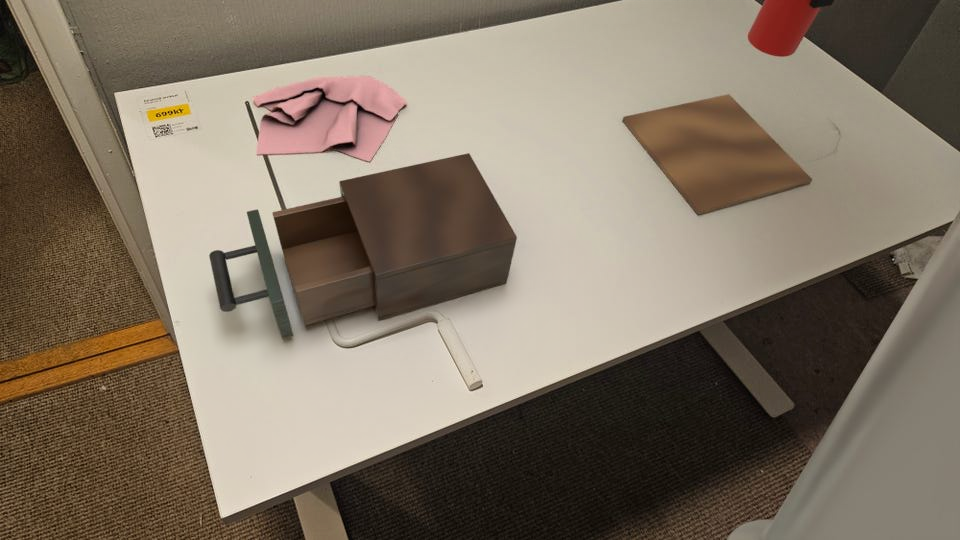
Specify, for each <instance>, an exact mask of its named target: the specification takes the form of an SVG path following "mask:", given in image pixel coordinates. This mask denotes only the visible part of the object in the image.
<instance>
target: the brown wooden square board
mask: <svg viewBox="0 0 960 540" xmlns="http://www.w3.org/2000/svg"><path fill="white" fill-rule="evenodd" d="M622 122H623V124H624V125H625V126H626V127H627V129H628V130H629V132H631V134H632V135H633V136H634V137H635V139H636V140H637V141H638V142H639V144H640V145H641V146H642V147H643V148H644V150H645V151H646V153H647V154H648V155H649V156H650V157H651V159H652V160H653V161H654V163H655V164H656V165H657V167H659V169H660V170H661V171H662V173H663V174H664V175H665V176H666V178H667V179H668V180H669V181H670V182H671V184H672V185H673V186H674V187H675V189H676V190H677V192H678V193H679V194H680V195H681V197H682V198H683V199H684V200H685V201H686V202H687V204H688V205H689V206H690V207H691V209H692V210H693V211H694V212H695V214H696V215H697V216H701V215H704V214H708V213H712V212H715V211H718V210H723V209H725V208H729V207H733V206H735V205H740V204H742V203H746V202H749V201H753V200H757V199H760V198H763V197H767V196H771V195H775V194H777V193H781V192H784V191H789V190H792V189H794V188H799V187H802V186H806V185H809V184H811V183H812V182H813V178H812V177H811V176H810V175H809V174H808V173H807V172H806V171H805V170H804V169H803V167H801V166H800V165H799V164H798V163H797V162H796V161H795V159H793V157H791V155H789V154H788V153H787V152H786V151H785V149H783V148H782V146H781V145H780V144H779V143H778V142H777V141H776V140H775V139H774V138H772V136H771V135H770V134H768V132H767V131H766V130H765V129H764V128H763V127H762V126H761V125H760V124H759V123H758V121H756V120H755V119H754V118H753V117H752V116H751V115H750V114H749V113H748V111H746V110H745V109H744V108H743V107H742V105H740V104H739V103H738V101H737V100H736V99H734V97H732V95H731V94H729V93H727V94H722V95H719V96H713V97H710V98H709V97H708V98H704V99H700V100H694V101H691V102H685V103H681V104H676V105H672V106H667V107H661V108H658V109H652V110H647V111H643V112H640V113H635V114H629V115H625V116H623V117H622Z"/></svg>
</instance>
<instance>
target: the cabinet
mask: <svg viewBox="0 0 960 540" xmlns="http://www.w3.org/2000/svg"><path fill="white" fill-rule="evenodd" d="M338 183H339V190H340V191H339V192H340V197H343V196H344V198H345V201H346V203H347V206H348V209H349V211H350V214H351V216H352V219H353V221H354V224H355V227H356V229H357V232H358V234H359V237H360V240H361V242H362V245H363V247H364V250H365V253H366V255H367V258H368V260H369V263H370V265H371V268H372V271H373V273H374V284H375V298H376V305H375V306H372V307H373V309H374V312H375V316H376V318H377V320H378V321H382V320H383V321H384V320H387V319H389V318H393V317H398V316H400V315H403V314H406V313H410V312H414V311H416V310H417V311H418V310H420V309H423V308H424V309H425V308H428V307H431V306H433V305H438V304H441V303H444V302H448V301H451V300H455V299H458V298H461V297H465V296H468V295H472V294H475V293H478V292H482V291H486V290H488V289H492V288H496V287H500V286H503V285H505V284H507V283H508V278H509V274H510V270H511V266H512V261H513V257H514V253H515V248H516V243H517V239H518V236H517V235H516V233H515V231H514V229H513V228H512V225H511V224H510V222H509V221H508V218H507V217H506V215H505V214H504V212H503V210H502V208H501V206H500V205H499V203H498V201H497V199H496V198H495V196H494V194H493V192H492V191H491V189H490V187H489V185H488V184H487V182H486V180H485V178H484V177H483V175H482V173H481V171H480V170H479V168H478V167H477V164H476V162H475V161H474V159H473V156H471V154H470V152H467V153H463V154H458V155H453V156H449V157H444V158H439V159H435V160H431V161H425V162H422V163H417V164H416V163H415V164H412V165H408V166H402V167H398V168H394V169H393V168H392V169H389V170H383V171H379V172H375V173H369V174H367V175H362V176H357V177H353V178H348V179H343V180H339V182H338Z"/></svg>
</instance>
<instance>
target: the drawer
mask: <svg viewBox="0 0 960 540" xmlns="http://www.w3.org/2000/svg"><path fill="white" fill-rule="evenodd" d="M246 216H247V219H248V224H249V227H250V231H251V234H252V238H253V239H252V240H253V242H254V245H250V246H246V247H242V248H238V249H234V250H229V251H226V252H224V251H223V250H220V249H216V250H213V251H211V252H210V253H209V255H208V256H209V261H210V262H209V263H210V266H211V272H212V276H213V281H214V286H215V290H216V295H217V301H218V304H219V305H218V306H219V309H220V311H221V312H225V313H228V312H232V311H234V310H235V309H236V308H237V306H238V305H242V304H246V303H250V302H254V301H258V300H261V299H265V298H268V299H269V303H270V306H271V309H272V312H273V316H274V318H275V322H276V325H277V328H278V331H279V334H280V337H281V340H285V339H288V338H292V337H294V332H293V329H292V324H291V321H290V318H289V314H288V311H287V307H286V303H285V300H284V296H283V292H282V289H281V286H280V282H279V278H278V274H277V270H276V267H275V263H274V260H273V256H272V253H271V249H270V246H269V242H268V239H267V236H266V233H265V229H264V225H263V222H262V219H261V214H260V210H259V209H251V210H249V211H248V210H247V211H246ZM272 217H273V222H274V224H275V228H276V232H277V236H278V240H279V243H280V248H281V251H282V255H283V259H284V261H285V265H286V269H287V271H288V275H289V279H290V281H291V286H292V289H293V292H294V295H295V299H296V302H297V307H298V309H299V313H300V316H301V320H302V323H303V326H308V325H311V324H315V323H318V322H322V321H326V320H329V319H332V318H336V317H340V316H342V315H346V314H350V313H354V312H357V311H360V310H364V309H367V308H372V307H373V306H375V305H376V298H375V284H374V273H373V271H372V268H371V265H370V263H369V260H368V258H367V255H366V253H365V250H364V247H363V245H362V242H361V240H360V237H359V234H358V232H357V229H356V227H355V224H354V221H353V219H352V216H351V214H350V211H349V209H348V206H347V203H346V201H345V198H344V196H343V197H341V196H338V197H333V198H330V199H325V200H321V201H317V202H316V201H315V202H311V203H308V204H307V203H306V204H303V205H298V206H294V207H290V208H284V209H280V210H276V211H272ZM252 254H257V258H258V261H259V266H260V269H261V273H262V276H263V280H264V284H265V287H266V288H265V289H261V290H259V291H258V290H257V291H254V292H250V293H247V294H243V295H240V296H236V297H235V293H234V290H233V285H232V281H231V277H230V272H229V267H228V263H227V260H232V259H236V258H240V257H245V256H249V255H252Z"/></svg>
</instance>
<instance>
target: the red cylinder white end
mask: <svg viewBox="0 0 960 540" xmlns="http://www.w3.org/2000/svg"><path fill="white" fill-rule="evenodd" d="M810 2H811V0H764V1H763V3H762V6H761V7H760V9H759V11H758V13H757V15H756V17H755V19H754V21H753V23H752V25H751V27H750V29H749V31H748V34H747V40H748V42H749V44H750V45H752V47H754V48H755V49H756V50H758V51H759V52H761V53H763V54H766V55H769V56H773V57H778V58H779V57H780V58H783V57H784V58H785V57H790V56H792V55H794V54H795V53H796V51H797V50H798V48H799V46H800V45H801V42H802V41H803V39H804V38H805V36H806V34H807V32H808V30H809V29H810V27H811V25H812V24H813V22H814V20H815V18H816V17H817V15H818V13H819V12H820V10H821V8H822V7H819V8H812V7H811V6H810V5H809V4H810Z"/></svg>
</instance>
